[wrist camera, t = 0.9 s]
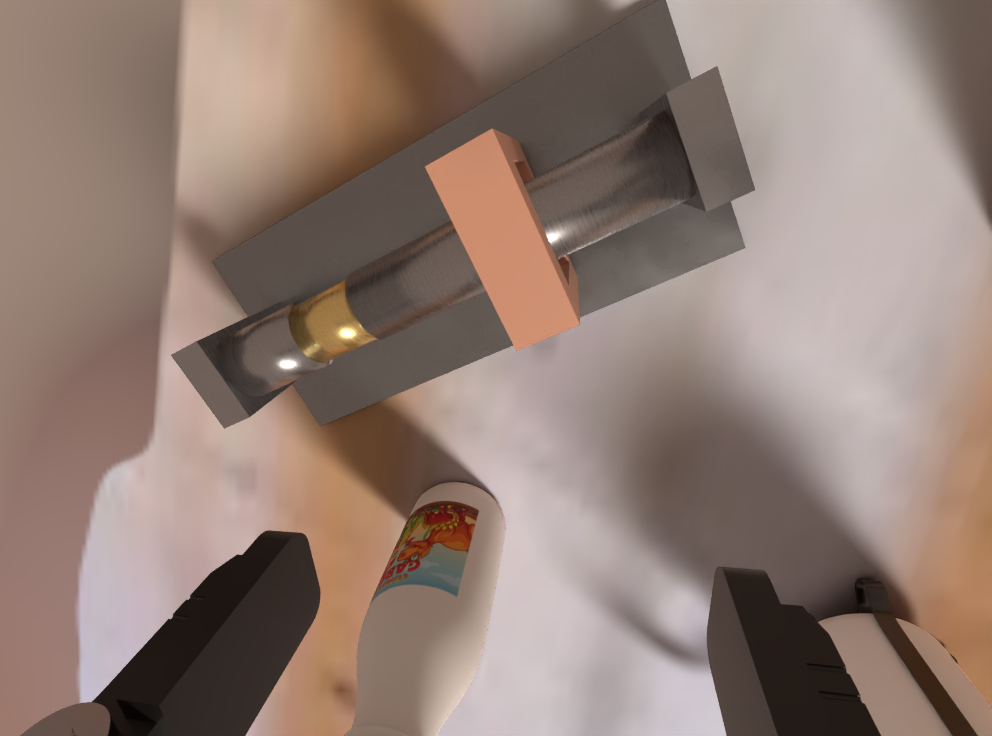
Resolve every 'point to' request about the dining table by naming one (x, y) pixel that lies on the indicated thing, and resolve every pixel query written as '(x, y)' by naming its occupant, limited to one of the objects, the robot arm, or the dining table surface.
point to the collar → (507, 237)
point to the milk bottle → (429, 614)
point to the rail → (440, 252)
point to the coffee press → (905, 672)
